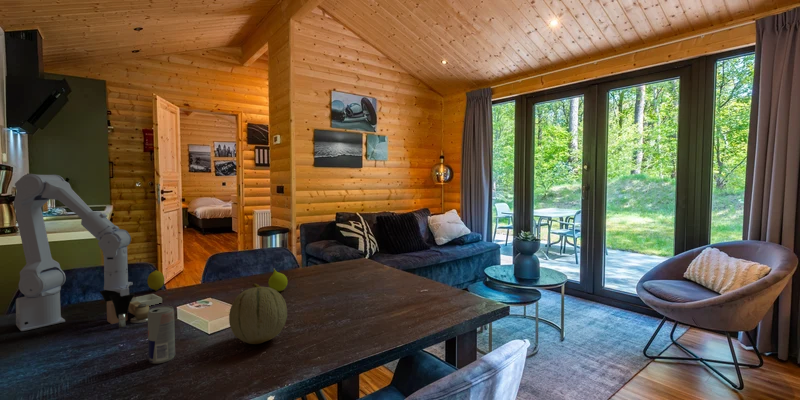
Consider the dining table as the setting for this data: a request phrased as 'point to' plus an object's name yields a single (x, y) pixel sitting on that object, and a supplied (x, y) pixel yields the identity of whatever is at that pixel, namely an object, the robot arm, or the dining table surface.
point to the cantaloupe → (257, 314)
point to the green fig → (278, 281)
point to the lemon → (155, 280)
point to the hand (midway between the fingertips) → (117, 314)
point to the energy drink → (161, 334)
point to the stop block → (112, 313)
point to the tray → (149, 299)
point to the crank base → (123, 320)
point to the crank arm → (138, 309)
